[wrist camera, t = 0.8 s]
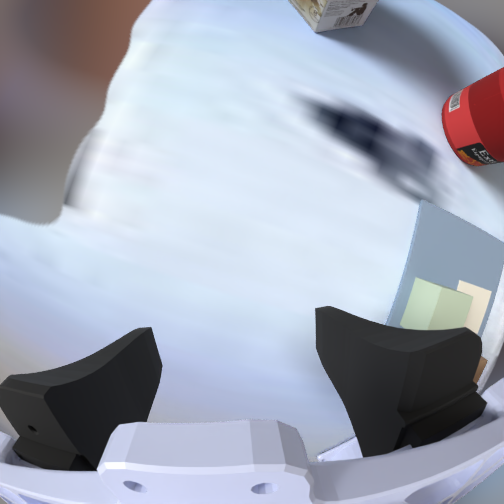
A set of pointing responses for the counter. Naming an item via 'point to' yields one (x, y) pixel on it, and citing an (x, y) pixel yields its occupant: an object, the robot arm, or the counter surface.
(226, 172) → the counter surface
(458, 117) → the canned food
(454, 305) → the sage block
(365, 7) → the coffee box
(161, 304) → the counter surface
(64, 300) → the counter surface
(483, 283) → the board
